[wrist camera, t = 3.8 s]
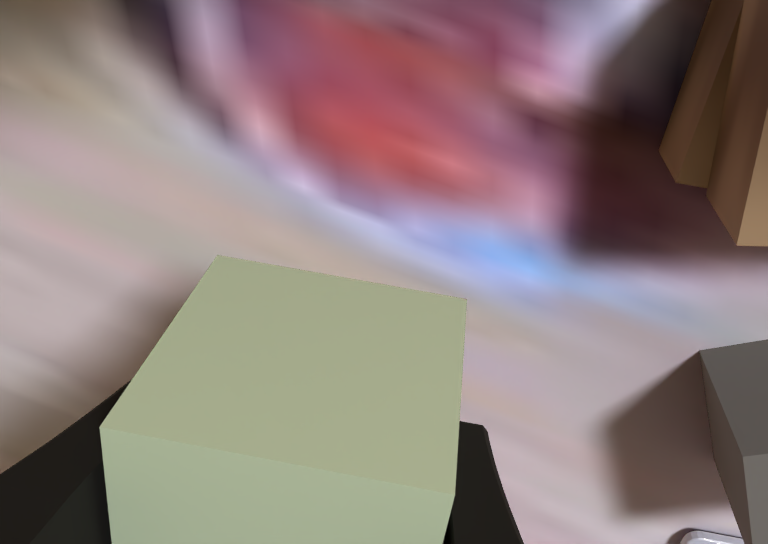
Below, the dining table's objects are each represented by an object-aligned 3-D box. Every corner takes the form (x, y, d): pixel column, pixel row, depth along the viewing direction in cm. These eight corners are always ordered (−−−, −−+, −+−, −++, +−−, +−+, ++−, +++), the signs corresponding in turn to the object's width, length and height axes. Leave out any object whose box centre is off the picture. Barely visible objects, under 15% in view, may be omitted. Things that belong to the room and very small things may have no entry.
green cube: (426, 479, 15) (404, 697, 11) (216, 439, 15) (121, 638, 11) (467, 299, 13) (454, 494, 9) (217, 255, 13) (99, 426, 9)
